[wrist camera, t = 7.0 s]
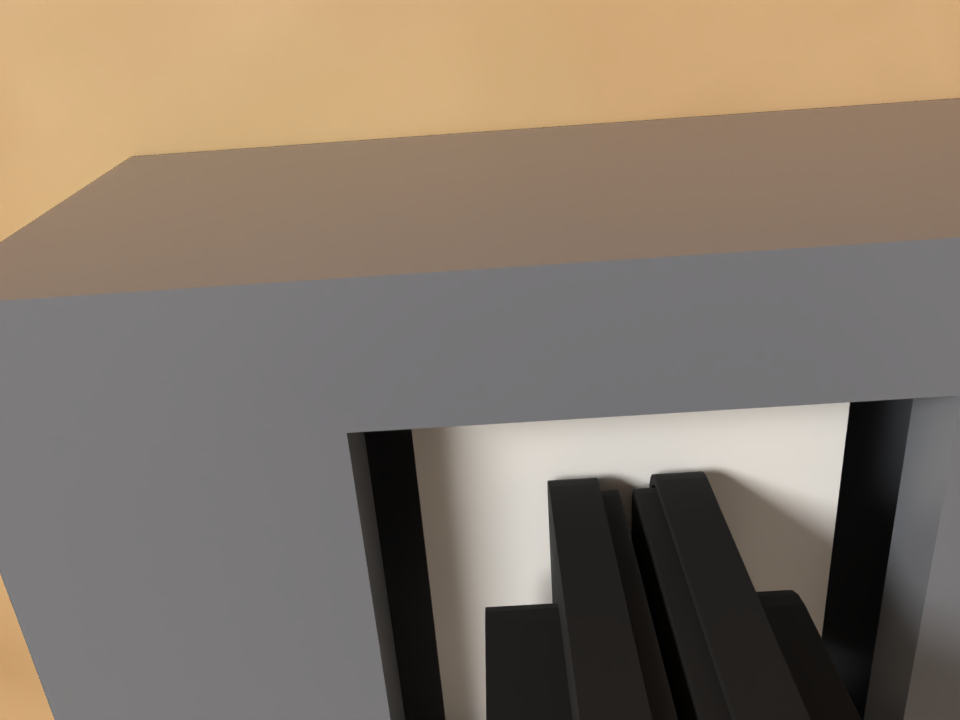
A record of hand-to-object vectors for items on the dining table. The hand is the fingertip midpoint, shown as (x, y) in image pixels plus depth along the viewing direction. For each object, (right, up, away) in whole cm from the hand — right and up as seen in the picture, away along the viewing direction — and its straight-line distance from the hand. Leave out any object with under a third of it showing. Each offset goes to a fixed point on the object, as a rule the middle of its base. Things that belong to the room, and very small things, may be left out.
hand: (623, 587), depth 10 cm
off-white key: (0, +1, +2) cm, 3 cm away
